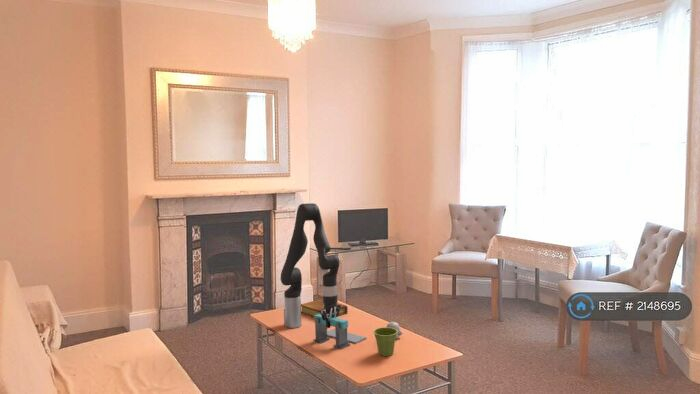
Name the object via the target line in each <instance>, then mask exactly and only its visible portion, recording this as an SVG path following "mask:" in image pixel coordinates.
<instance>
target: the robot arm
mask: <svg viewBox="0 0 700 394" xmlns="http://www.w3.org/2000/svg"><path fill="white" fill-rule="evenodd" d="M310 221H312V222H313V223H314V227H315V228H314V233H313V238H312V239H313V243H314V246H315V249H316V250H317V257H318V266H319V268H320V269H321V270H323V271H325V270H326V271H327V270H328V272H326V273H324V274H323V275H322V299H323V303H324V309H323V310H320V313H321V316H322V319H323V320H325V321H326V327H327V329H330V328H331V326H330V317H335V318H338V317H340V316H339V312H340V307H341V306H340V305H337V304H336V303H338V302H339V300H338V287H337V277H338V272H339V268H340V264H341V263H340V258H339V256H338V255H336V254H330V255H327V254H328V253H329V252H330V251H331V246H330V243H329V240H328V238H327V234H326V233H325V229H324V223H323V219H322V214H321V211H320V208H319V206H318V204H316V203H301V204H299V205H298V207H297V211H296V216H295V223H294V229H293V232H292V237H291V238H290V239H291V240H290V243H289V246H288V247H289V248H288V252H287V255H286V259H285V262H284V264H283V266H282V269H281V272H280V282H281V284H282V286H285V287H286V286H289V287H288V288H287V289H286V290H285V291H284V293H283V295H284V297H283V298H284V309H283V325H284V326H285V327H286V328H289V329H296V328H300V327H301V326H302V324H303V323H302V313H301V312H302V306H301V304H302V299H301V297H302V295H301V294H302V289H303V288H302V286H303V285H302V281H303V277H302V271H301V270H300V268H298V267H295V266H296V265H297V263H298V262H299V261H300V260H301V259H302V258H303V256H304V255H305V253H306V251H307V248H308V243H309V240H308V236H307V234H306V232H305V229H304V228H305V222H310ZM336 312H337V314H336ZM328 314H329V315H328ZM324 317H325V318H324ZM327 317H328V318H327Z"/></svg>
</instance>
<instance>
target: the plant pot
mask: <svg viewBox="0 0 700 394" xmlns="http://www.w3.org/2000/svg"><path fill="white" fill-rule="evenodd" d="M397 332H398V331H397V330H396V329H394V328H389V327H385V326H383V327H377V328H375V329H373V330H372V333H373V334H374V337H375V341H376V345H377V353H378V354H379V355H380V356H383V357H390V356H392V355H393V354H394V352H395V345H396V344H395V343H396V339H395V338H396V334H397Z"/></svg>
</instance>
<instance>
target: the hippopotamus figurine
mask: <svg viewBox="0 0 700 394" xmlns="http://www.w3.org/2000/svg"><path fill="white" fill-rule="evenodd" d="M386 327H389V328H394V329H396V330H397V331H398V332H397V334H396V338H395V340H397V339H398V340H399V337H400V336H402V335H403V331H402V330H401V328H400V324H399V323H398V322H395V321H390V322H388V323H387V324H386Z"/></svg>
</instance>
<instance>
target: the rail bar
mask: <svg viewBox="0 0 700 394" xmlns="http://www.w3.org/2000/svg"><path fill="white" fill-rule="evenodd" d="M313 318H314V319H313V321H314V323H315V318H318V319H320V323H321V324H325V325H326V321H325V320H323V319H322V316H321V314H317V315H314V317H313ZM324 318H325V317H324ZM327 318H328V317H327ZM335 323H339V324H340V328H341V329H345V328H347V329H348V328H349V320H347V319H343V318H338V317H336V318H335V317H330V327H333V328H335Z"/></svg>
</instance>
